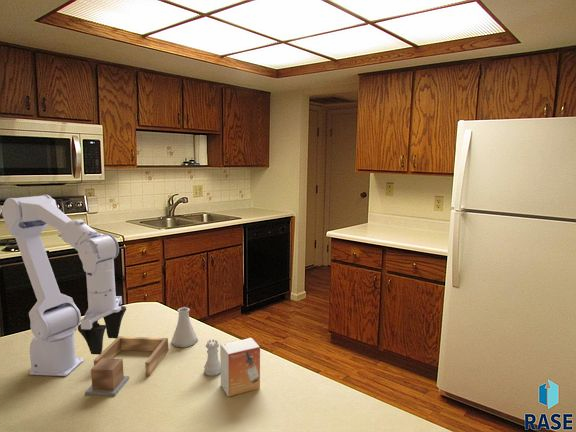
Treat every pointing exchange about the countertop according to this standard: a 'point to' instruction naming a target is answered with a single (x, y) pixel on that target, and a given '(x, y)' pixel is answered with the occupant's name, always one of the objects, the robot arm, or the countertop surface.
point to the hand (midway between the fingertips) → (105, 345)
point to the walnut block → (107, 374)
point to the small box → (240, 366)
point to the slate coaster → (107, 392)
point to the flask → (184, 330)
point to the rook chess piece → (212, 359)
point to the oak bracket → (138, 349)
